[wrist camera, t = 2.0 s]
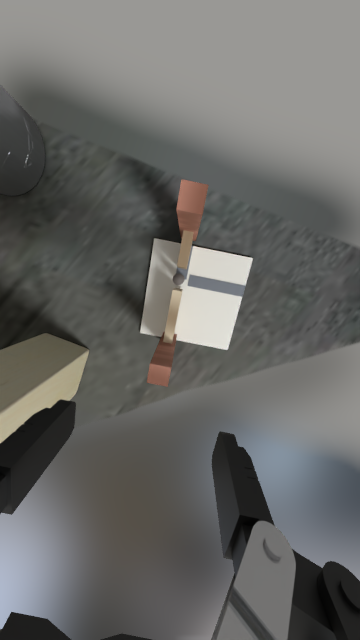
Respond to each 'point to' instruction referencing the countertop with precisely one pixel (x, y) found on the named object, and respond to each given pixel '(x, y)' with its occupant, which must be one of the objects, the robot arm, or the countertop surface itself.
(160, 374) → the toy gate half
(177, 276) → the brown piece
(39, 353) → the upright wooden block
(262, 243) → the countertop surface
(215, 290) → the card
